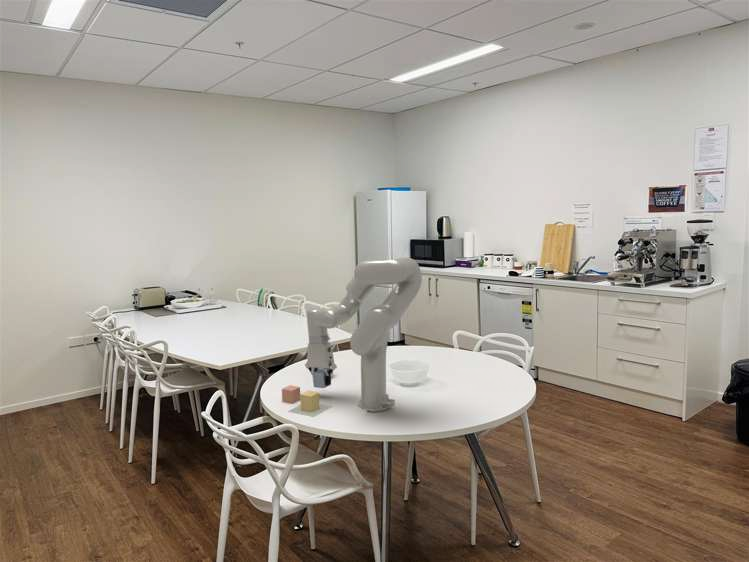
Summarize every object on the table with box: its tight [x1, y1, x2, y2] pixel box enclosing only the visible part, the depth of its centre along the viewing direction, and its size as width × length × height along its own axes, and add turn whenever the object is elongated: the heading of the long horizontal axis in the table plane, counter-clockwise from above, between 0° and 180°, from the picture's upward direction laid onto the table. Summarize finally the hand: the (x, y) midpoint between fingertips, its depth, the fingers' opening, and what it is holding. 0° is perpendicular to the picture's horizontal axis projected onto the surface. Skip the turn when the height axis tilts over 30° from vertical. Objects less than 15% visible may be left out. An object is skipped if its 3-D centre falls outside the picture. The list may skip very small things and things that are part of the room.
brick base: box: [299, 390, 320, 412], centre depth 204 cm, size 5×5×6 cm
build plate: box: [287, 403, 333, 418], centre depth 205 cm, size 12×12×1 cm
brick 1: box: [281, 385, 301, 405], centre depth 214 cm, size 5×5×6 cm
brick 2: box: [312, 369, 332, 389], centre depth 217 cm, size 5×5×6 cm
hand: (322, 383), depth 217 cm, fingers closed on brick 2, 5 cm apart
